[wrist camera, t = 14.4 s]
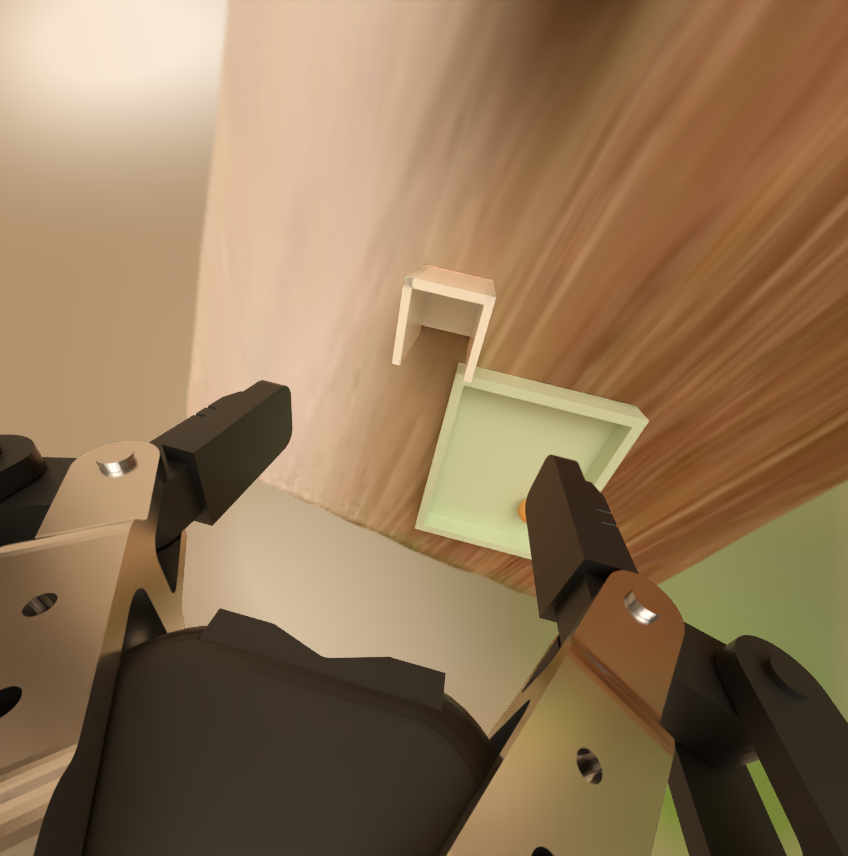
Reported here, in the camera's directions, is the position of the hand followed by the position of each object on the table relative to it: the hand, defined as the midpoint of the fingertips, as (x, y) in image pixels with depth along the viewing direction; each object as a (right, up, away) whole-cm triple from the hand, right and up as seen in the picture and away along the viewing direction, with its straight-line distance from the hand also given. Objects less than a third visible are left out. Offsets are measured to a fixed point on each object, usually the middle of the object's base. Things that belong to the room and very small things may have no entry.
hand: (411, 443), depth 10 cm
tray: (+10, -4, +28) cm, 30 cm away
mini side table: (+3, +12, +20) cm, 23 cm away
